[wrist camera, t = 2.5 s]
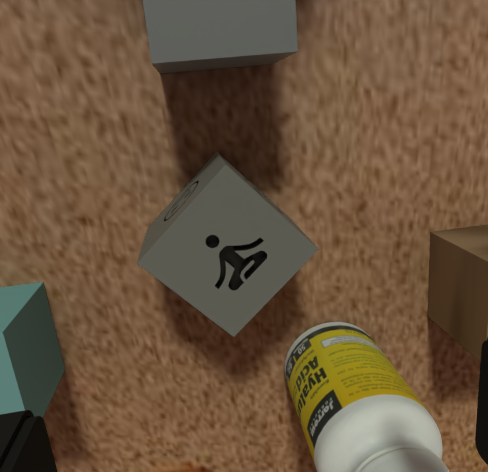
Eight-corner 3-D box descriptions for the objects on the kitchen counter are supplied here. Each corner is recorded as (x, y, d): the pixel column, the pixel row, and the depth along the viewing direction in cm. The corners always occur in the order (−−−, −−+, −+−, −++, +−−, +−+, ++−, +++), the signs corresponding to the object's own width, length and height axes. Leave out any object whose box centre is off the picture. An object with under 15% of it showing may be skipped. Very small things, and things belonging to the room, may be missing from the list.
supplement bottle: (288, 316, 23) (356, 455, 14) (382, 320, 24) (505, 454, 15) (275, 401, 25) (329, 578, 16) (364, 402, 26) (466, 571, 16)
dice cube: (223, 288, 22) (234, 337, 18) (147, 227, 21) (137, 263, 16) (289, 218, 22) (318, 249, 17) (216, 150, 20) (225, 164, 16)
